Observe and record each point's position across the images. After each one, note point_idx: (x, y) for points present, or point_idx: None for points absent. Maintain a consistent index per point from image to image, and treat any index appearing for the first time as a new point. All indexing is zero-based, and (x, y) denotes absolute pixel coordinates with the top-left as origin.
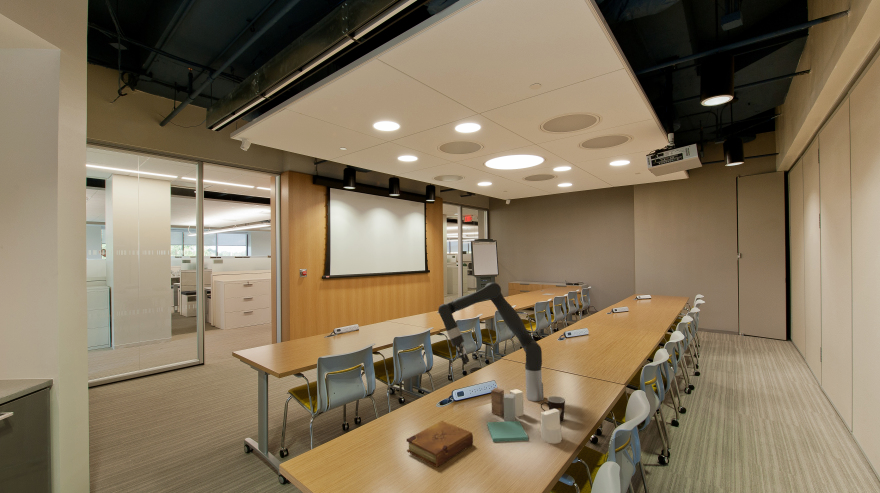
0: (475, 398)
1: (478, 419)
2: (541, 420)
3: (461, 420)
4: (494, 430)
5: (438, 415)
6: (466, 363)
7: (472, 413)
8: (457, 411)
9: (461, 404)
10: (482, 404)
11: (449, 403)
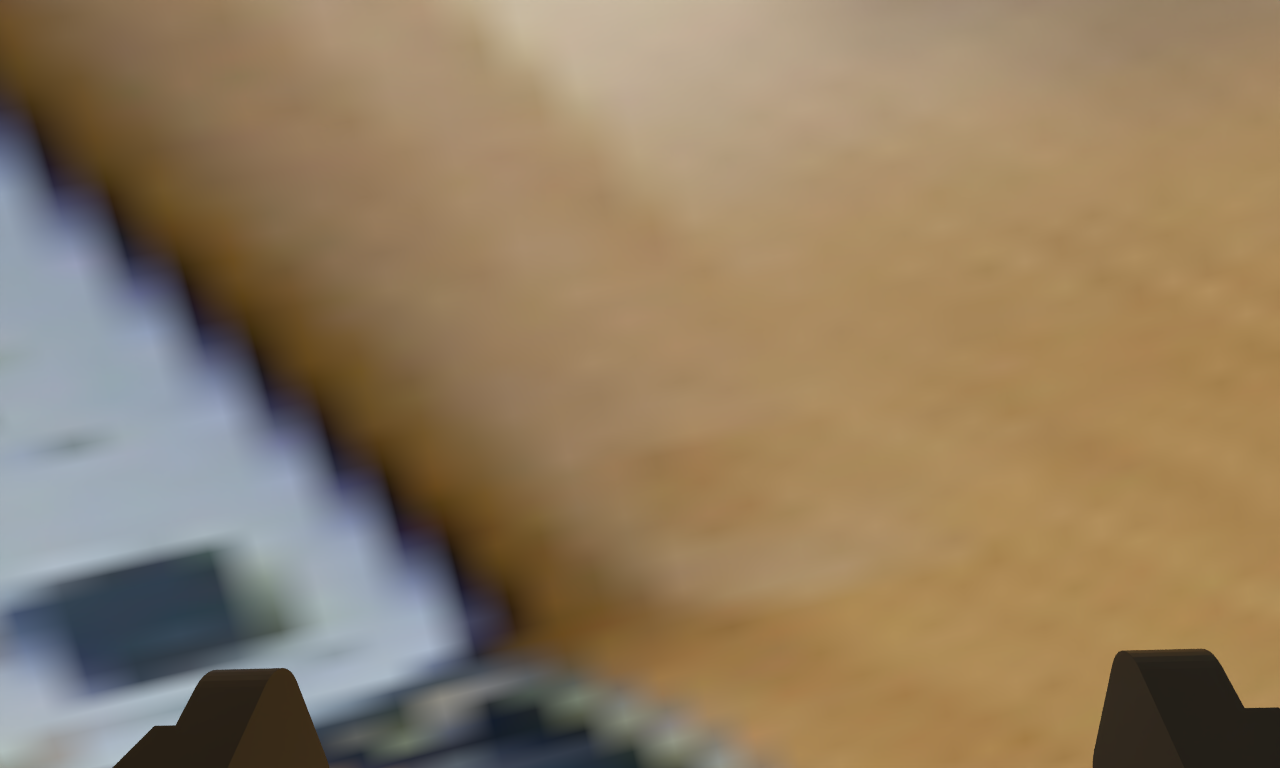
0: (310, 303)
1: (1162, 102)
2: None
3: (1231, 364)
4: None
5: None
6: (1198, 688)
7: (957, 240)
8: (922, 498)
9: (634, 496)
10: (556, 128)
11: (635, 701)
